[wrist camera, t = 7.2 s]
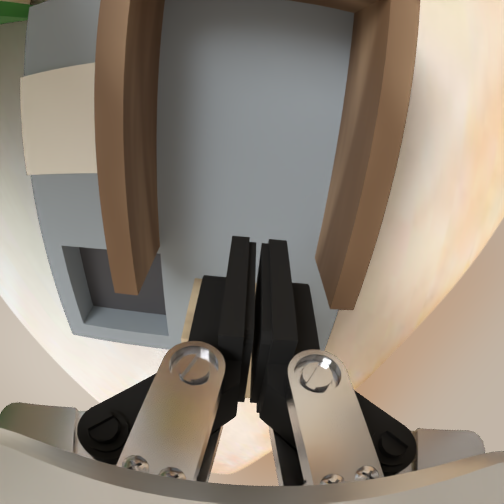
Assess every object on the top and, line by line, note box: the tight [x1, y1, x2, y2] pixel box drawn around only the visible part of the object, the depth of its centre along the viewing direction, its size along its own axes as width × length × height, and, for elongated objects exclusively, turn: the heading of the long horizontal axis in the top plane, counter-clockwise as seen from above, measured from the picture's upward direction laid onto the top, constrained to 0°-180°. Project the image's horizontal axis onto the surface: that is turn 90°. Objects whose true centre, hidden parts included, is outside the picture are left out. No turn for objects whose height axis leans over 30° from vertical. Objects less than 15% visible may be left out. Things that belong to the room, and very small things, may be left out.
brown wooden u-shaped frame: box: [94, 0, 420, 310], centre depth 12 cm, size 11×15×4 cm
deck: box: [20, 0, 354, 351], centre depth 17 cm, size 20×24×3 cm
